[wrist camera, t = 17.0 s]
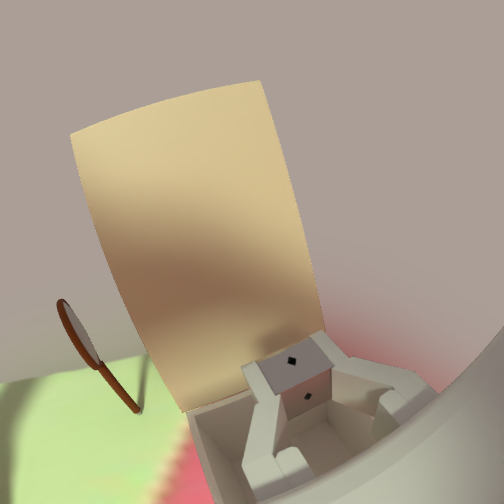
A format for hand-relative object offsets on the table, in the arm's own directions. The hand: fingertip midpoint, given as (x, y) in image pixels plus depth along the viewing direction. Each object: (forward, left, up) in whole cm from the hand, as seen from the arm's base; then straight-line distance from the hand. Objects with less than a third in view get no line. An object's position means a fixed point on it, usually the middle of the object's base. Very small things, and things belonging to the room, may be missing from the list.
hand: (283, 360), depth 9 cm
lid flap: (0, +11, -1) cm, 11 cm away
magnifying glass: (-16, +20, -24) cm, 35 cm away
